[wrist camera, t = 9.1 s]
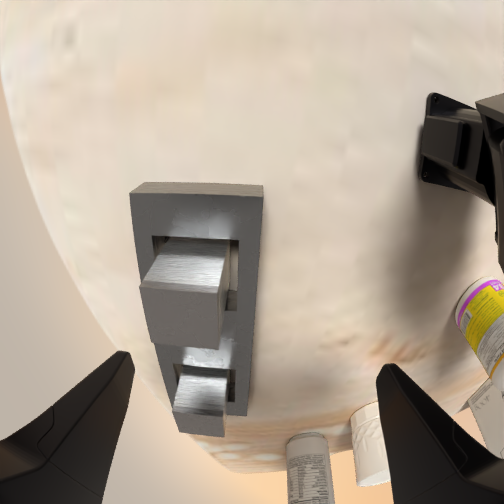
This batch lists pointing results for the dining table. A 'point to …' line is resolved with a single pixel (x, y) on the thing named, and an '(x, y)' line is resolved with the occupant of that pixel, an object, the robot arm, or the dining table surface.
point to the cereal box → (490, 416)
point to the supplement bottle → (485, 325)
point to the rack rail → (217, 227)
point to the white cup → (369, 447)
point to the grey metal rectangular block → (187, 292)
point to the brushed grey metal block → (202, 400)
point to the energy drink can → (309, 470)
